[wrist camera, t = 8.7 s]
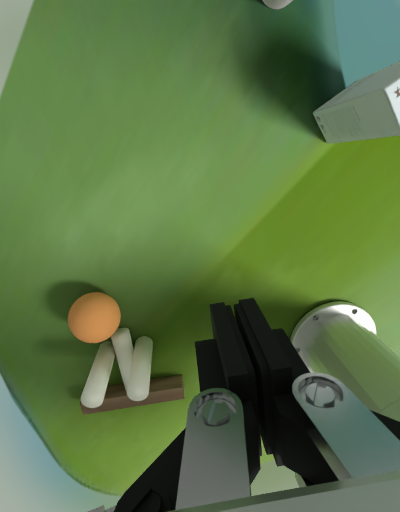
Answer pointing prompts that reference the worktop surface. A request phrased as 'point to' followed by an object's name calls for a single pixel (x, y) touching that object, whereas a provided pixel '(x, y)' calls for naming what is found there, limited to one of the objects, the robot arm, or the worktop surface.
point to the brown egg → (94, 317)
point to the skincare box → (363, 109)
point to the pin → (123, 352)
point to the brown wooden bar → (158, 393)
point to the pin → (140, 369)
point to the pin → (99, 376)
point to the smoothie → (276, 3)
